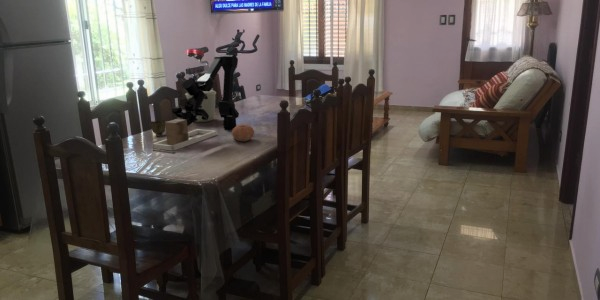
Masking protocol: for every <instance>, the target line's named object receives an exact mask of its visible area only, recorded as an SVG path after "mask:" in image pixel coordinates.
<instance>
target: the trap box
mask: <svg viewBox="0 0 600 300" xmlns="http://www.w3.org/2000/svg"><path fill="white" fill-rule="evenodd" d="M198 134H199V135H198ZM217 135H218V133H217V130H213V129H211V130H210V129H199V128H196V129H194V130H191V131H188V138H189V140H187V141H184V142H181V143H178V144H175V145H167V138H165V139H163V140H160V141H157V142H154V143H152V145H151V146H152V152H155V153H156V152H157V153H163V154H176V150H178V149H179V150H180V149H181V148H184V147H187V146H191V145H192V144H195V143H198V142H200V141H203V140H206V139H209V138H213V137H214V136H217ZM173 151H175V152H173Z"/></svg>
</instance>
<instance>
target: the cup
mask: <svg viewBox="0 0 600 300" xmlns="http://www.w3.org/2000/svg"><path fill="white" fill-rule="evenodd" d="M165 122H166V120H165V119H164V120H162V121H161V120H160V119H157V120H152V121H150V122H149V123H150V127H151V131H152V133H153V134H155V137H156V138H159V137H163V136H164V132H166V127H165Z"/></svg>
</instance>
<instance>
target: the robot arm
mask: <svg viewBox="0 0 600 300" xmlns="http://www.w3.org/2000/svg"><path fill="white" fill-rule="evenodd" d="M238 62H239V59H238V57H237V56H236V54H223V55H215V56H214V57H213V60H212V63H211V64H210V66H209V67H208V69H207V70H206V72H205V73H204V74H203V75H202V76H200V77H199V78H198V79H197V80H195V79H194V77H188V79H186V80H185V81H184V82H182V86H181V87H182V89H183V90H184V91H185V93H188V94H189V95H191V96H192V97H191V98H189V99H187V98H183V97H181V98H179V101H178V105H179V106H182V108H183V109H182V108H181V107H178V106H177V107H176V106H175V107H174V106H173V107H172V108H171V112H172V113H173V115H174V116H175V117H177V119H185V120H187V127H189V126H190V125H192V124H193V123H196V122H195V121H197V120H198V119H197V118H198V117H199V116H202V119H203V120H208V118H209V115H208V113H207V112H206V111H205V110H204V109H199V108H202V106H201V104H202V102H203V100H204V99H208V97H207V94H205V93H204V92H203V91H210V90H213V86H214V85H215V84H214V80H215V78H216V76H217V74H218V73H219V72H220V70H221V68H222V69H223V71H224V73H223V89H222V91H223V92H222V100H221V101H219V102H218V108H217V109H218V113H219V116H220V118H223V119H222V125H223V129H224V131H226V130H228V131H229V130H233V129H234V128H235V127H236V126H237V119H238V118H239V115H240V113H239V111H238V110H237V109H236V105H235V101H234V100H233V92H234V91H233V90H234V74H235V71H236V69H237V68H238Z"/></svg>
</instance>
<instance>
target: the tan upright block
mask: <svg viewBox="0 0 600 300" xmlns="http://www.w3.org/2000/svg"><path fill="white" fill-rule="evenodd" d="M188 127H189V126H187V120H185V119H183V118H175V119H172V120H169V121H168V120H167V121H165V134H166V135H165V136H166V139H167V145H175V144H178V143H181V142H184V141H187V140H189V138H188V132H189V129H188Z"/></svg>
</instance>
